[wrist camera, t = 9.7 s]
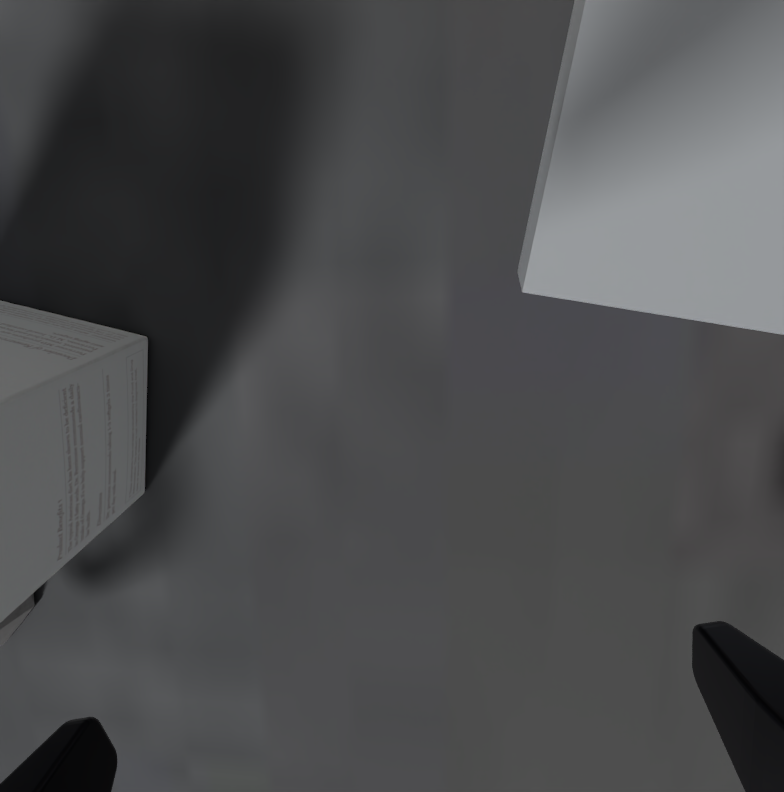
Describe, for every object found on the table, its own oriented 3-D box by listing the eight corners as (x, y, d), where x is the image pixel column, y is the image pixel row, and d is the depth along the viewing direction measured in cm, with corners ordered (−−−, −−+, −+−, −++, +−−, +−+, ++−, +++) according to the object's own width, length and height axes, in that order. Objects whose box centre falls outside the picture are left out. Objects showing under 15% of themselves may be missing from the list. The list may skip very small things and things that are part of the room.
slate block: (888, 12, 15) (1016, -43, 11) (773, 311, 18) (845, 344, 14) (578, -20, 16) (602, -81, 12) (517, 270, 19) (522, 291, 15)
